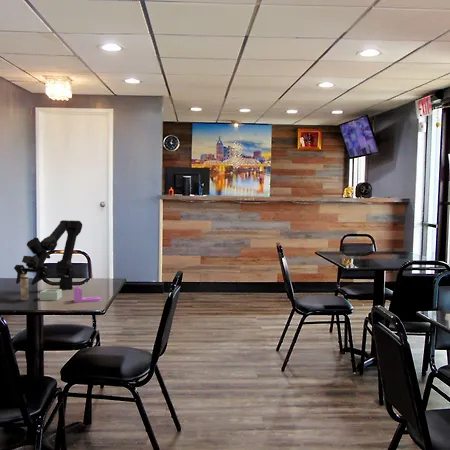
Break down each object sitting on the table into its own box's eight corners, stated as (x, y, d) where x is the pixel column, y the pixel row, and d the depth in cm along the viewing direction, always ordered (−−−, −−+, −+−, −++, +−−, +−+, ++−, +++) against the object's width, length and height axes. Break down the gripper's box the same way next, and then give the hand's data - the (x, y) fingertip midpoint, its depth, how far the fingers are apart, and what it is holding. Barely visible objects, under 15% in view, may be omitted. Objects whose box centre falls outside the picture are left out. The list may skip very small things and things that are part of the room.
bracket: (74, 302, 246) (74, 288, 246) (73, 300, 252) (73, 286, 251) (101, 301, 250) (101, 287, 250) (100, 299, 256) (100, 285, 255)
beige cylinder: (28, 298, 255) (28, 273, 254) (28, 299, 251) (28, 274, 251) (20, 298, 254) (20, 274, 253) (20, 300, 250) (20, 275, 250)
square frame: (45, 296, 259) (45, 289, 259) (61, 297, 260) (61, 289, 259) (39, 300, 251) (39, 292, 251) (57, 300, 251) (57, 292, 251)
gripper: (16, 249, 259) (0, 273, 249) (46, 250, 253) (31, 275, 243) (27, 262, 267) (12, 286, 257) (56, 264, 261) (42, 289, 251)
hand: (24, 284), depth 252 cm, fingers open, 9 cm apart
